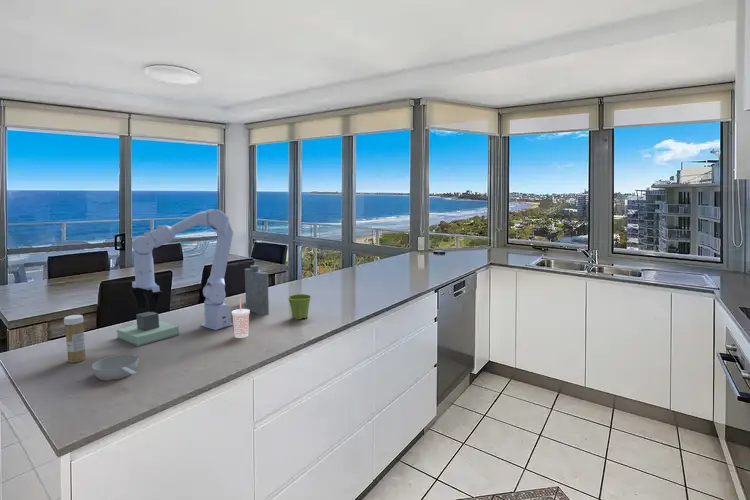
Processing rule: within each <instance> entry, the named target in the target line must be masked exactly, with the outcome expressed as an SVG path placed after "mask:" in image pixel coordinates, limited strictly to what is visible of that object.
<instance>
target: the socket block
mask: <svg viewBox="0 0 750 500" xmlns="http://www.w3.org/2000/svg"><path fill="white" fill-rule="evenodd" d="M179 327H180V326H178V325H176V324H175V325H174V324H172V323H170V322H166V321H163V320H160V319H159V328H155V329H151V330H147V331H143V330H140V329H138V328H137V324H134V325H130V326H126V327H122V328H117V329H116V335H117V336H116V337H117V339H120V340H122V341H125V342H127V343H130V344H131V345H134V346H137V347H141V346H144V345H148V344H150V343H151V344H152V343H155V342H159V341H161V340H165V339H169V338H172V337H176V336H179V335H180V330H179Z"/></svg>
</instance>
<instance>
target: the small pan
mask: <svg viewBox="0 0 750 500" xmlns="http://www.w3.org/2000/svg"><path fill="white" fill-rule="evenodd" d="M138 365H139V357H138V356H137V355H135V354H117V355H112V356H108V357H104V358H101V359H99V360H97V361H96V362H93V363H92V365H91V368H92V373H93V375H94V376H95V377H96V378H97V379H98V378H99V379H98V380H100V379H101V380H100V381H112V380H111V379H116V380H119V379H118V378H121V379H123V378H122V377H124V378H126V377H125V376H127V377H128V375H129V376H136V375H137V374H138V372H137V371H136V369H137V367H138ZM130 374H131V375H130Z"/></svg>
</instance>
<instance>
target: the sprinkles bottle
mask: <svg viewBox="0 0 750 500" xmlns="http://www.w3.org/2000/svg"><path fill="white" fill-rule="evenodd" d="M63 323H64V326H65V327H64V328H65V340H66V351H67V362H68V363H79V362H81V361H84V360H86V359H87V355H86V342H85V341H86V340H85V330H84V316H83V314H72V315H68V316H65V317H63Z"/></svg>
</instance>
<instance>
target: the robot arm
mask: <svg viewBox="0 0 750 500" xmlns="http://www.w3.org/2000/svg"><path fill="white" fill-rule="evenodd" d="M195 226H209V227H210V228H212V230H213V231H214V232H215V234H217V238H216V243H215V245H216V246H215V249H214V253H213V259H212V265H211V270H210V275H209V277H208V278H207V280H206V281H207V282H206V284H205V285H204V286H203V289H202V295H203V297H205V300H204V301H203V303H204V304H203V305H204V306H203V307H204V322H203V323H200V325H199V326H200V327H204V328H208V329H210V330H214V331H216V330H219V329H223V328H227V327H231V326H234V324H233V323H232V311H231V307H230V306H229V305H227V304H226V301H225V299H226V297H227V294H226V289H225V288H226V283H225V275H226V271H227V267H228V266H227V265H228V262H229V261H228V260H229V255H230V251H231V245H232V241H233V237H234V236H233V235H234V234H233V233H234V232H233V229H232V227H231V224H230V222H229V216H227V214H226V213H225V212H224V211H222V210H221V209H214V208H208V209H206V210H205V211H204V210H202V211H199V212H196V213H195V214H193V215H190V216H188V217H186V218H184V219H183V220H181V221H178V222H176V223H175V224H172V225H167V224H163V225H162V224H159V225H157V228H155V229H154V230H151V231H149V232H147V231H146V232H143V234H144V235H138V236H137V237H135V238H134V239H133V240H132V244H131V247H132V249H133V250H134V251H133V256H134V257H133V264H134V275H135V277H134V278H135V279H134V280H135V281H131V285H132V288H130V289H129V293H130V294H131V296H133V298H134V300H135V304H136V306H137V309H140V310H141V309H144V308H146V304H147V309H148V312H157V309H158V304H159V301H160V298H161V296H162V294H163V290H160V285H158V284H157V283H156V282H155V281H156V280H155V265H154V257H153V250H154V249H156V248H158V247H159V248H160V247H161V246H163V245H165V244H167V243H169V242H171V241H173V240H175V238H176V235H177V234H180V233H181V232H184V231H186V230H188V229H191V228H194V227H195Z"/></svg>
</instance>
